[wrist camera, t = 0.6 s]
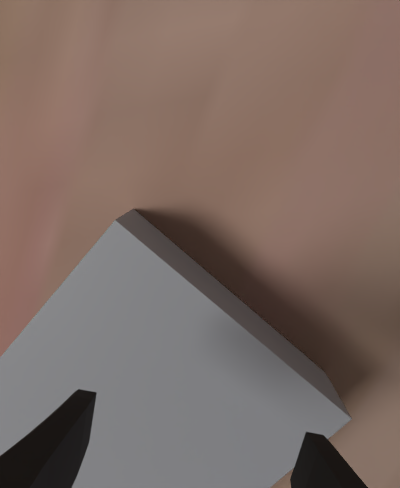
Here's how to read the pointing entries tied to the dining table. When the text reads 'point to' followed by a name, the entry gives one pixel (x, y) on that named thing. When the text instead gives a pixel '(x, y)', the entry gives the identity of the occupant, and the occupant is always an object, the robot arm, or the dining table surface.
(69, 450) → the robot arm
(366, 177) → the dining table surface
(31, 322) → the base block
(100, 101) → the dining table surface
